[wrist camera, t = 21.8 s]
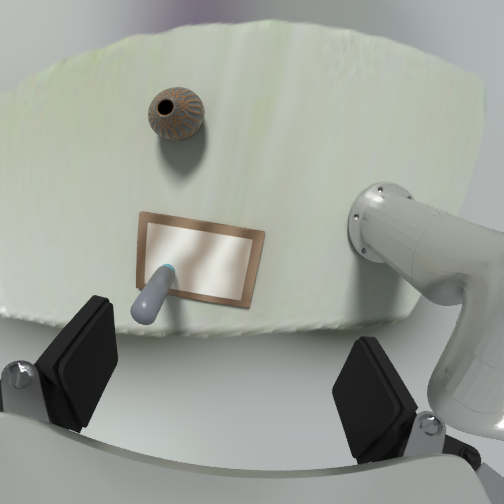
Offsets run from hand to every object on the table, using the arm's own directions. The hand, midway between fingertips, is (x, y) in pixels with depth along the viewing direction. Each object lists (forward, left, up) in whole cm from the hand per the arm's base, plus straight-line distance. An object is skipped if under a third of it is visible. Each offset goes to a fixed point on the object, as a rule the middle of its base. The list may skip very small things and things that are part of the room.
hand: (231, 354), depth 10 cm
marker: (+9, +11, -29) cm, 32 cm away
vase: (+10, -11, -31) cm, 34 cm away
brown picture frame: (+5, +9, -30) cm, 32 cm away
